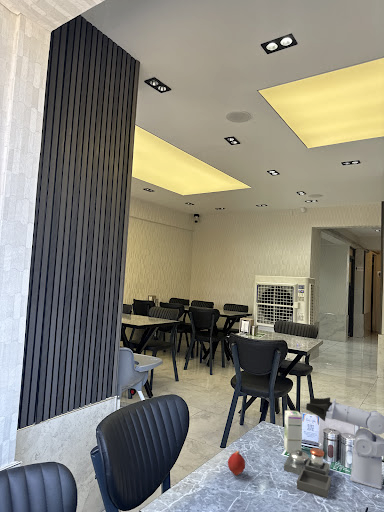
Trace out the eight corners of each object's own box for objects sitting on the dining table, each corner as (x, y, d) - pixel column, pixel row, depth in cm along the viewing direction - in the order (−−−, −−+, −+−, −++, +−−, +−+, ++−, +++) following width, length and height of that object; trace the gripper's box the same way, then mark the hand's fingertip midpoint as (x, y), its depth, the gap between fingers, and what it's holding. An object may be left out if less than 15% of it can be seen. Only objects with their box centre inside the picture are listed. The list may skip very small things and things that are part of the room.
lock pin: (324, 468, 126) (325, 450, 126) (322, 473, 122) (323, 455, 122) (310, 464, 128) (311, 446, 128) (308, 469, 124) (309, 451, 124)
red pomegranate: (224, 476, 120) (226, 451, 121) (231, 469, 125) (232, 445, 126) (241, 481, 117) (242, 456, 118) (247, 474, 122) (248, 449, 123)
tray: (330, 484, 119) (330, 476, 119) (326, 498, 111) (327, 490, 111) (302, 476, 123) (302, 468, 123) (296, 488, 115) (296, 480, 115)
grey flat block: (329, 469, 129) (330, 455, 129) (325, 482, 120) (326, 467, 120) (290, 458, 135) (290, 445, 136) (283, 470, 126) (284, 455, 127)
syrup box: (301, 454, 140) (303, 415, 141) (286, 453, 140) (287, 414, 141) (297, 447, 145) (299, 410, 147) (283, 446, 146) (284, 409, 147)
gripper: (350, 398, 134) (312, 388, 141) (347, 408, 122) (305, 397, 128) (348, 417, 134) (310, 406, 140) (344, 429, 121) (303, 417, 128)
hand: (308, 403), depth 134 cm, fingers open, 7 cm apart
